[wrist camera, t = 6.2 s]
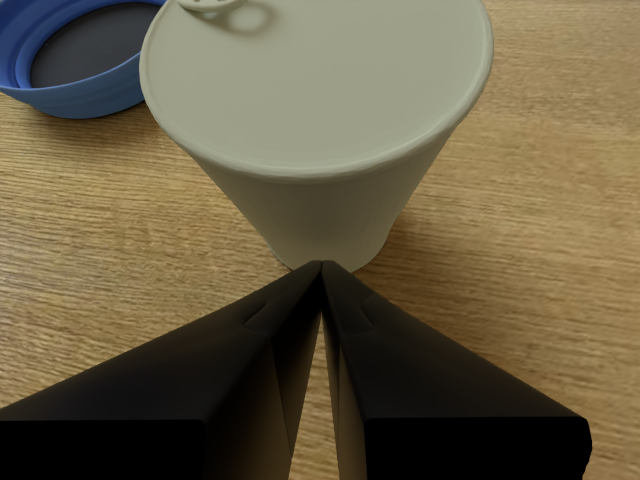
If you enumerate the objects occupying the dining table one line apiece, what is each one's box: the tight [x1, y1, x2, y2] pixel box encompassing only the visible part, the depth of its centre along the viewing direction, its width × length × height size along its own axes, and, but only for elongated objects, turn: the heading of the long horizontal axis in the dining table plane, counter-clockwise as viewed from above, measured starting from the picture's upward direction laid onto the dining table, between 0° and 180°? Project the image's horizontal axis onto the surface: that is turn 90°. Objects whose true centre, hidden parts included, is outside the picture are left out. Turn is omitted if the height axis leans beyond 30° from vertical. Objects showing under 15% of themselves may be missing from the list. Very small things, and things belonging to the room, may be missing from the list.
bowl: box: [0, 0, 167, 119], centre depth 22 cm, size 18×18×4 cm
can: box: [139, 0, 494, 273], centre depth 11 cm, size 9×9×12 cm
